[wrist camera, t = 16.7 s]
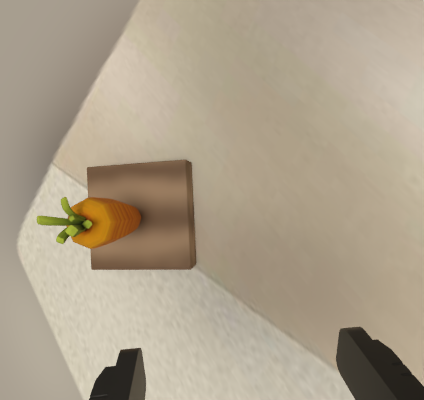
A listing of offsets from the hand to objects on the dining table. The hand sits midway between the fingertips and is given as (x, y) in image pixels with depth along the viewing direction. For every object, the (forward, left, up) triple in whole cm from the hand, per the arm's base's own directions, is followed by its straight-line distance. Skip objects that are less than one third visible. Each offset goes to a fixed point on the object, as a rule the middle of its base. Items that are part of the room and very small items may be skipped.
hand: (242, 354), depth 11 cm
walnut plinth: (-5, -16, -26) cm, 30 cm away
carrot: (-5, -15, -23) cm, 28 cm away
